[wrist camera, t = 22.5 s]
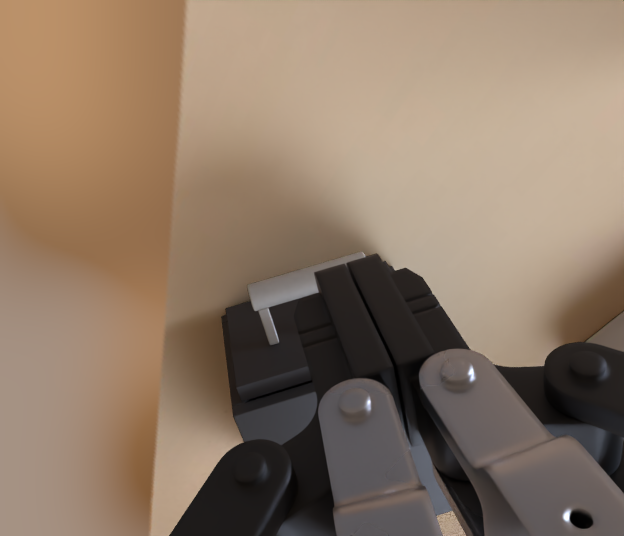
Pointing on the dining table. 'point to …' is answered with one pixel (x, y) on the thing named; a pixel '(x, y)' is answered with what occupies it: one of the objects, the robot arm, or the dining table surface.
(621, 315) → the tray
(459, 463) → the robot arm
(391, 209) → the dining table surface
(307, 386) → the cabinet
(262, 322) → the drawer
